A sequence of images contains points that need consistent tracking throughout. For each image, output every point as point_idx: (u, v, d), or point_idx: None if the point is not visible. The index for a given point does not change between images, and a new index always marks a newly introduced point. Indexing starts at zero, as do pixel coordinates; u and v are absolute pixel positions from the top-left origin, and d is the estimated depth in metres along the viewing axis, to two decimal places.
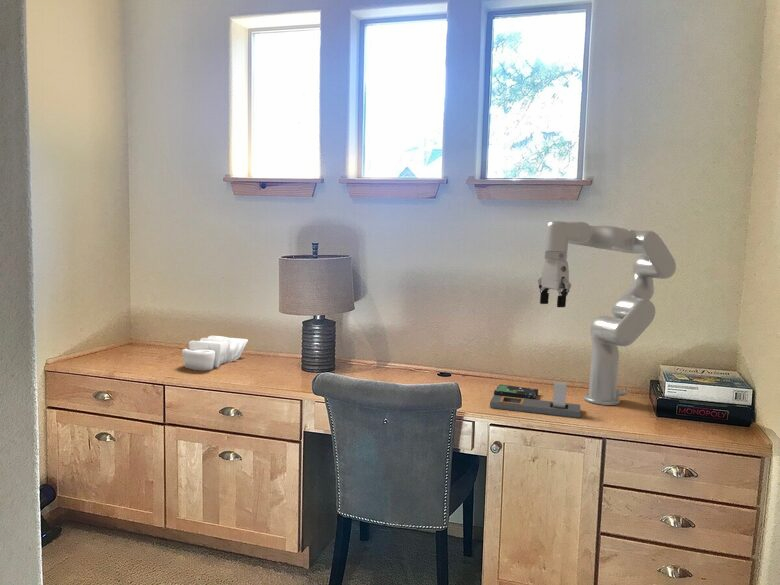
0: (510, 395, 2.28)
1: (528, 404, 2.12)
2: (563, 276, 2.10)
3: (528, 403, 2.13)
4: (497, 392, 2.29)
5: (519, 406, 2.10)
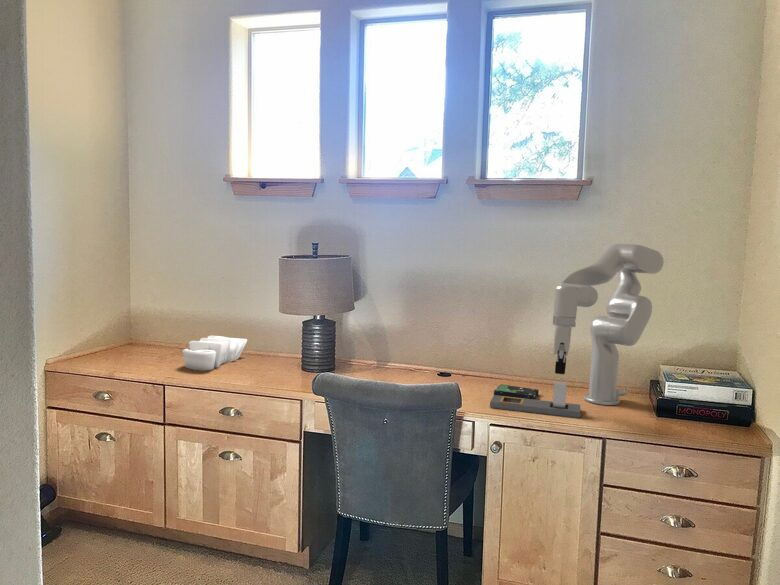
0: (510, 395, 2.28)
1: (528, 404, 2.12)
2: None
3: (528, 403, 2.13)
4: (497, 392, 2.30)
5: (519, 406, 2.10)
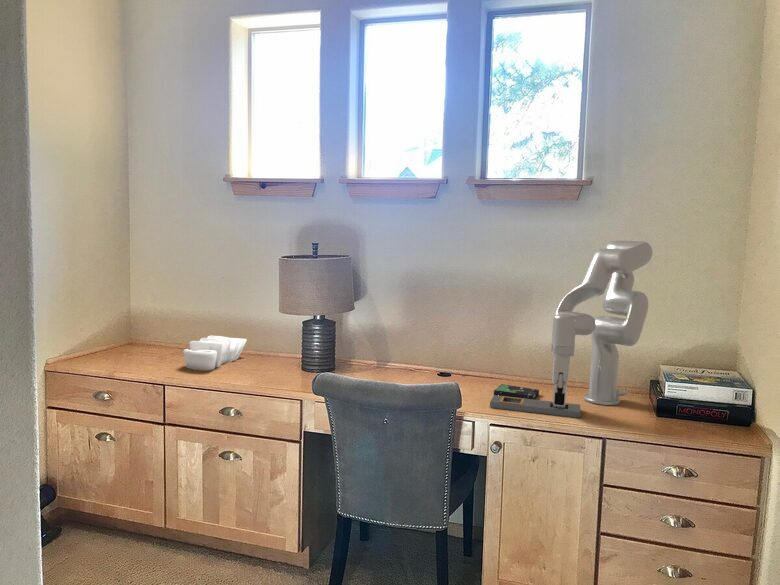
0: (509, 395, 2.28)
1: (528, 404, 2.12)
2: None
3: (528, 403, 2.13)
4: (497, 392, 2.30)
5: (519, 406, 2.10)
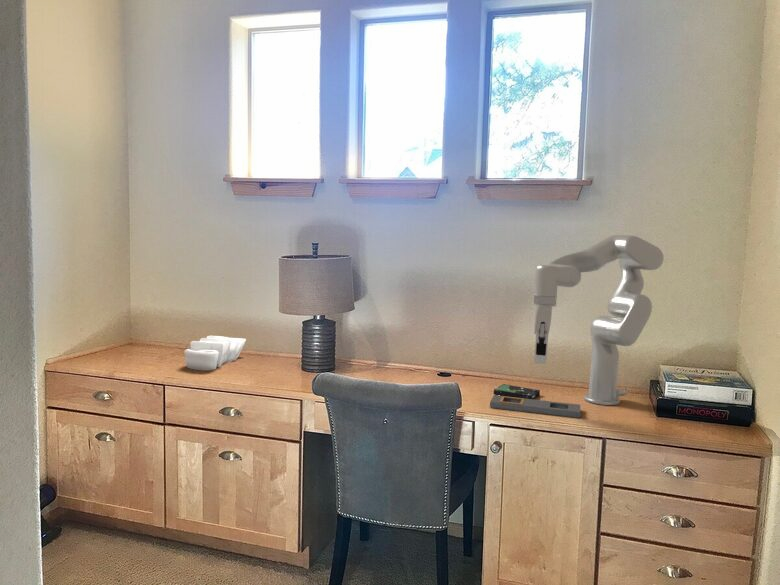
0: (509, 394, 2.28)
1: (528, 404, 2.12)
2: None
3: (528, 403, 2.13)
4: (496, 391, 2.31)
5: (519, 406, 2.10)
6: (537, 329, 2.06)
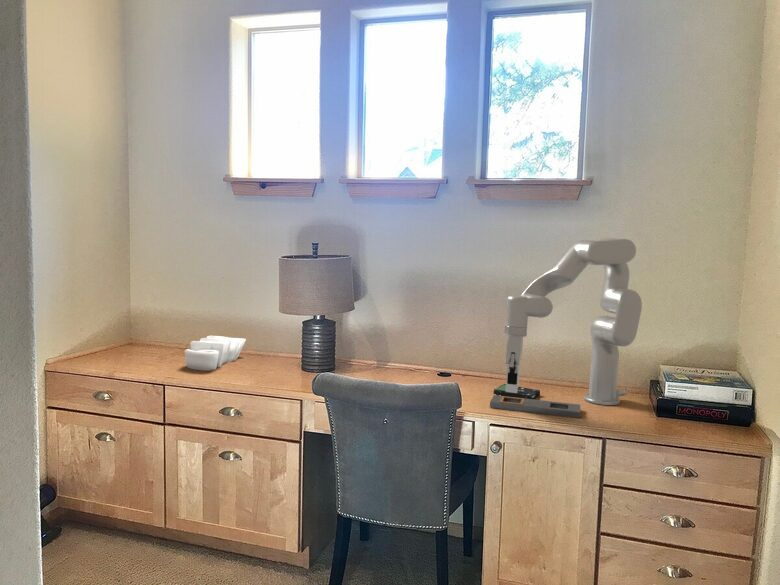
0: (508, 394, 2.28)
1: (528, 404, 2.12)
2: None
3: (528, 403, 2.13)
4: (496, 391, 2.31)
5: (519, 406, 2.10)
6: (507, 359, 2.10)
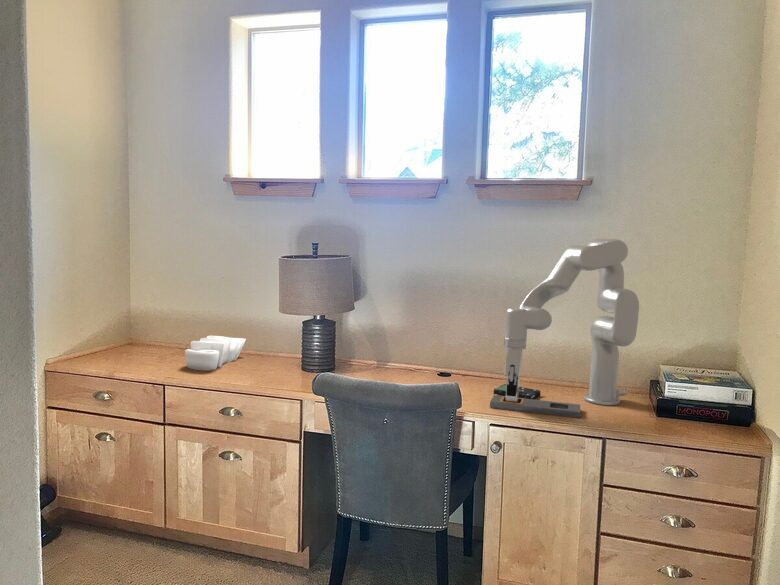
0: None
1: (528, 404, 2.12)
2: None
3: (528, 403, 2.13)
4: (496, 391, 2.31)
5: (519, 406, 2.10)
6: (507, 372, 2.11)
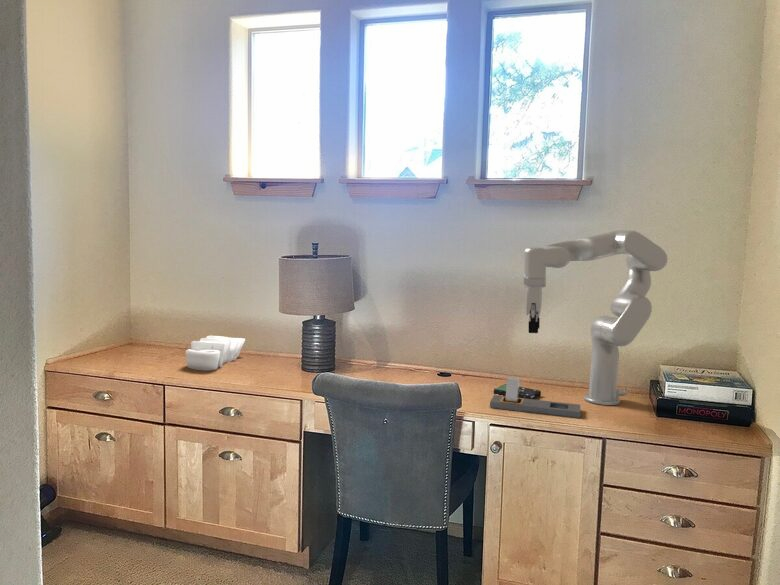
0: None
1: (528, 404, 2.12)
2: None
3: (528, 403, 2.13)
4: (496, 390, 2.32)
5: (519, 406, 2.10)
6: (528, 310, 2.13)
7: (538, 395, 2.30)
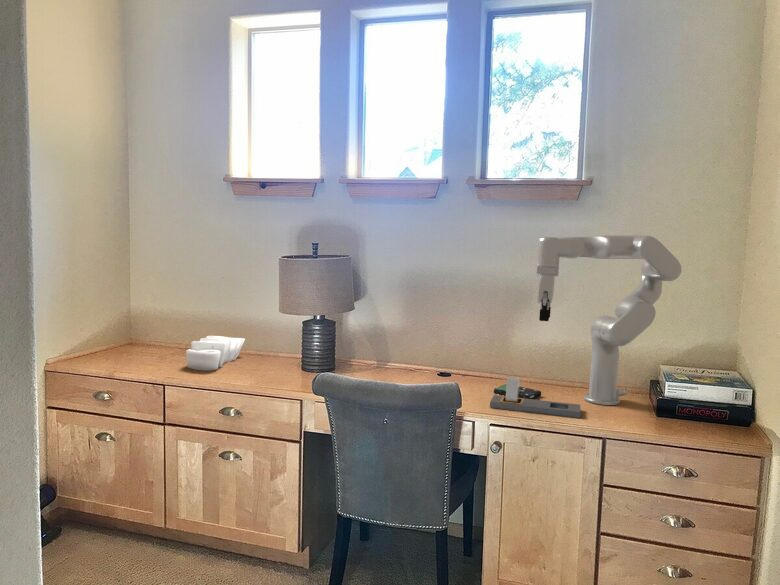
0: None
1: (528, 404, 2.12)
2: None
3: (528, 403, 2.13)
4: (496, 390, 2.32)
5: (519, 406, 2.10)
6: (540, 298, 2.16)
7: (538, 395, 2.29)
